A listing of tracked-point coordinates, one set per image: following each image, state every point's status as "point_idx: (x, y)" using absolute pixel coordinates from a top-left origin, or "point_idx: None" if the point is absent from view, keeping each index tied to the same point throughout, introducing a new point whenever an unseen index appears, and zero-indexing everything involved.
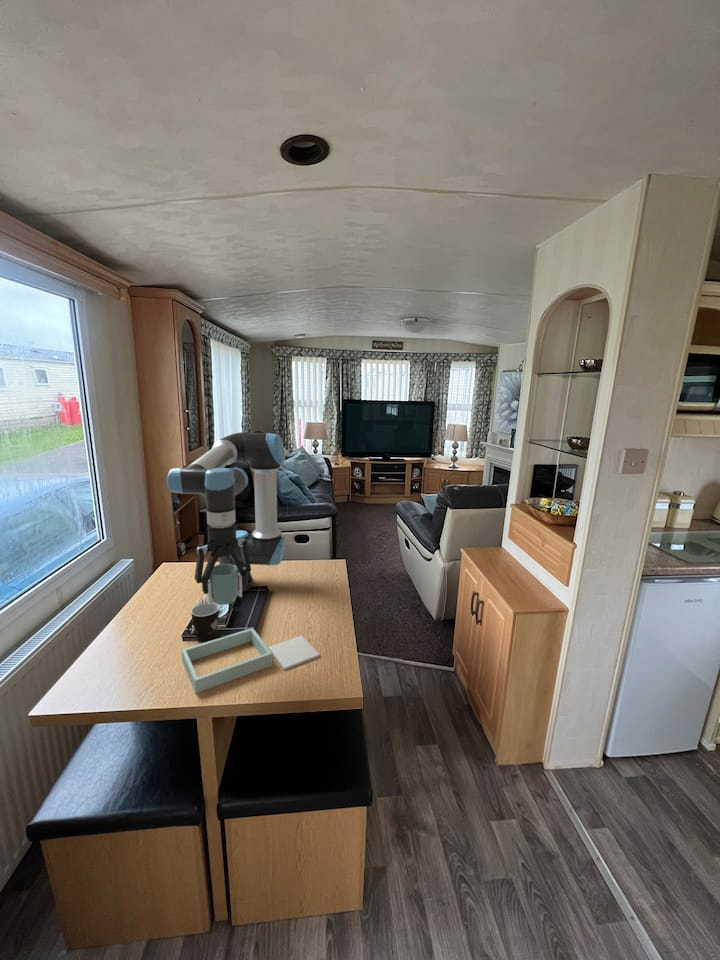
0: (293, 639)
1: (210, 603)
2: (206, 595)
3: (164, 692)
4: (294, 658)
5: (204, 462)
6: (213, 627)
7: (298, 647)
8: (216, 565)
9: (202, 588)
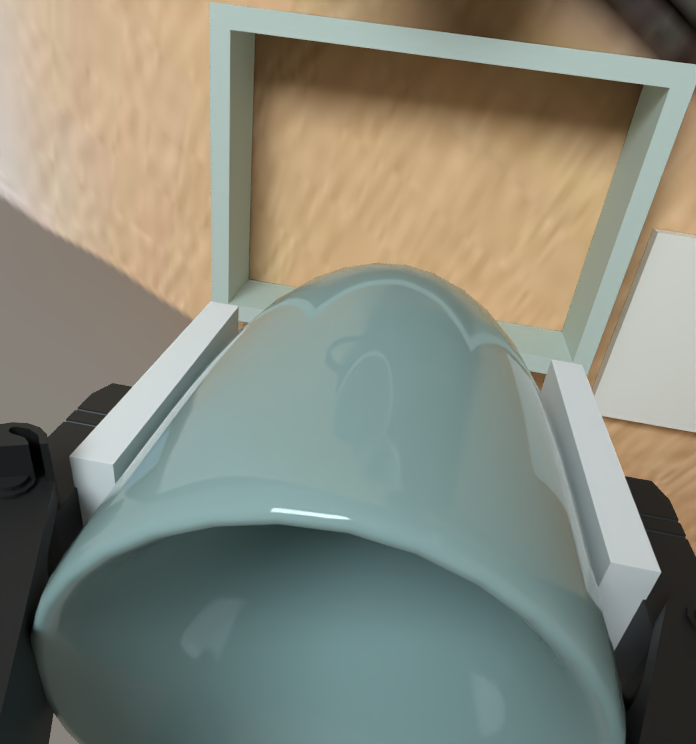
0: None
1: None
2: (182, 338)
3: (128, 198)
4: (673, 395)
5: None
6: None
7: None
8: (243, 521)
9: (73, 421)
